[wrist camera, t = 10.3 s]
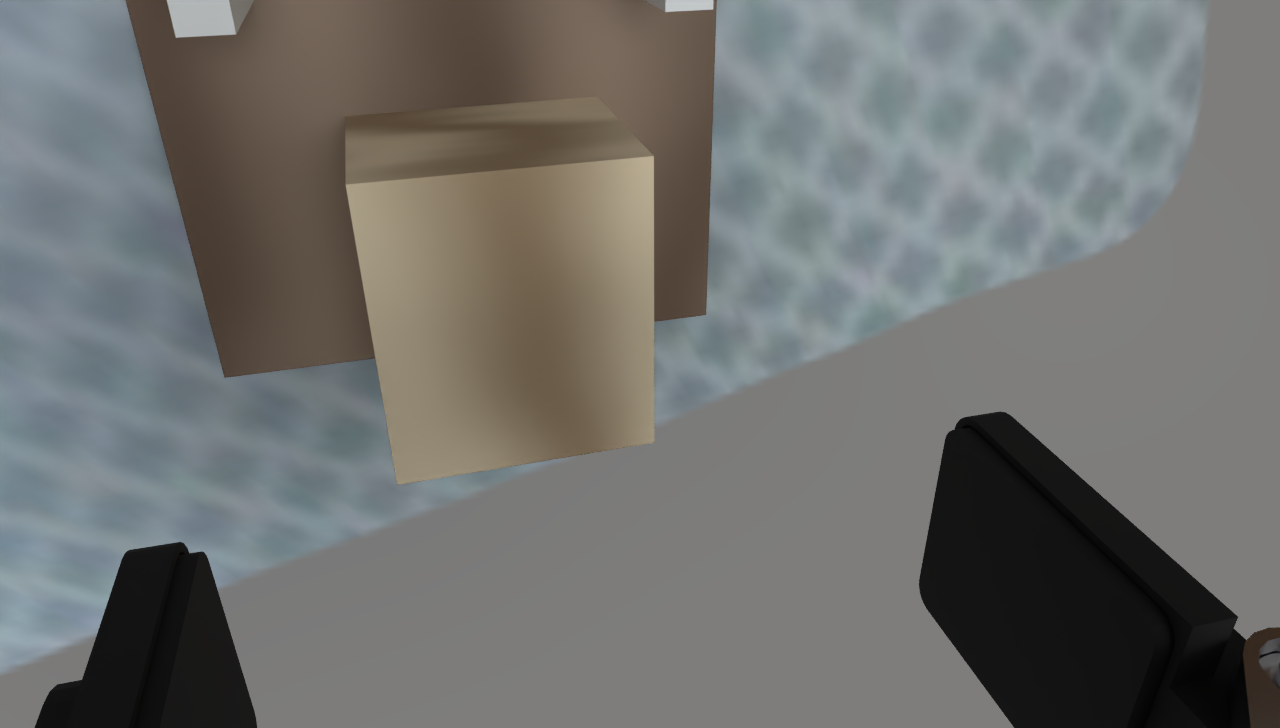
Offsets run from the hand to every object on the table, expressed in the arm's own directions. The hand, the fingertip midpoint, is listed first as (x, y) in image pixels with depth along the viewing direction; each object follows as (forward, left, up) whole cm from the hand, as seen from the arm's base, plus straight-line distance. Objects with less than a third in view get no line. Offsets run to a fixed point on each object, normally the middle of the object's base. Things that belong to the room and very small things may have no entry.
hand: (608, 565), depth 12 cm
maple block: (0, -1, -14) cm, 14 cm away
